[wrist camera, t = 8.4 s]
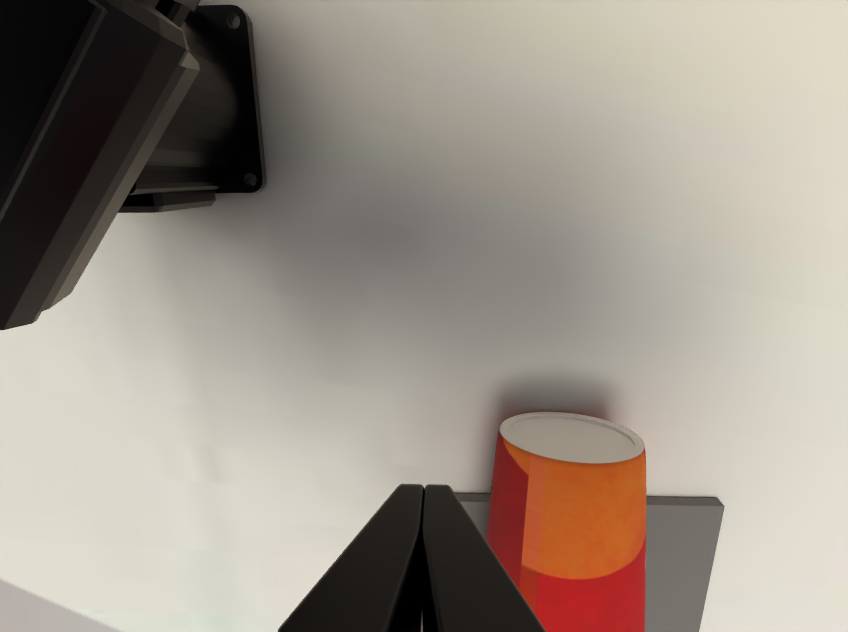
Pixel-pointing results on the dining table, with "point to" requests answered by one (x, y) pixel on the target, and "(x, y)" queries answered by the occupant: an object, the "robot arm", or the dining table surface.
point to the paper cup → (572, 519)
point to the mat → (661, 556)
